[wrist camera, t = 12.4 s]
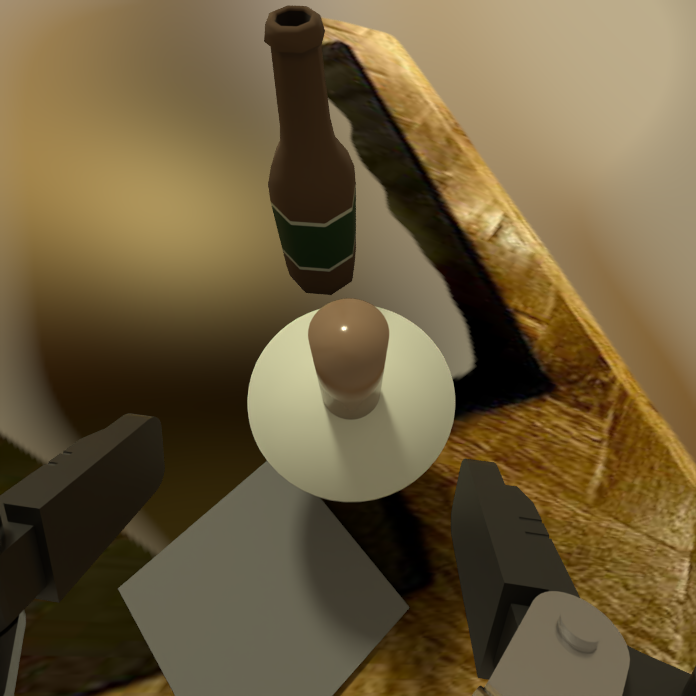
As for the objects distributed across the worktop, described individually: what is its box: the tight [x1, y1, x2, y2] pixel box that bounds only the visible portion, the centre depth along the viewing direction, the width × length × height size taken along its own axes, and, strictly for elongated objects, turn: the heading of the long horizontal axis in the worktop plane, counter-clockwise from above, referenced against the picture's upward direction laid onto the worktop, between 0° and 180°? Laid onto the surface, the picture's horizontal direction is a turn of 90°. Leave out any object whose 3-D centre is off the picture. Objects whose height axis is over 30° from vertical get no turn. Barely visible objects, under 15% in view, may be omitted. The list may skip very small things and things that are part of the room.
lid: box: [248, 298, 455, 502], centre depth 23 cm, size 14×14×9 cm
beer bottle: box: [264, 6, 356, 295], centre depth 34 cm, size 8×8×24 cm
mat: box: [118, 461, 410, 696], centre depth 30 cm, size 16×16×1 cm
